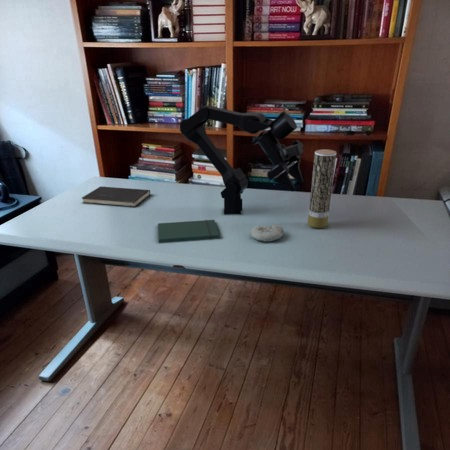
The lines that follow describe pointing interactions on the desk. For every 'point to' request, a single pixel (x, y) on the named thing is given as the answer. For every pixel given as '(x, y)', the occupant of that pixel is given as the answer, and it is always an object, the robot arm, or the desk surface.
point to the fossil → (267, 233)
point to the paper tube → (321, 188)
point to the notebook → (187, 231)
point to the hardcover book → (116, 196)
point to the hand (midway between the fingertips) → (298, 186)
